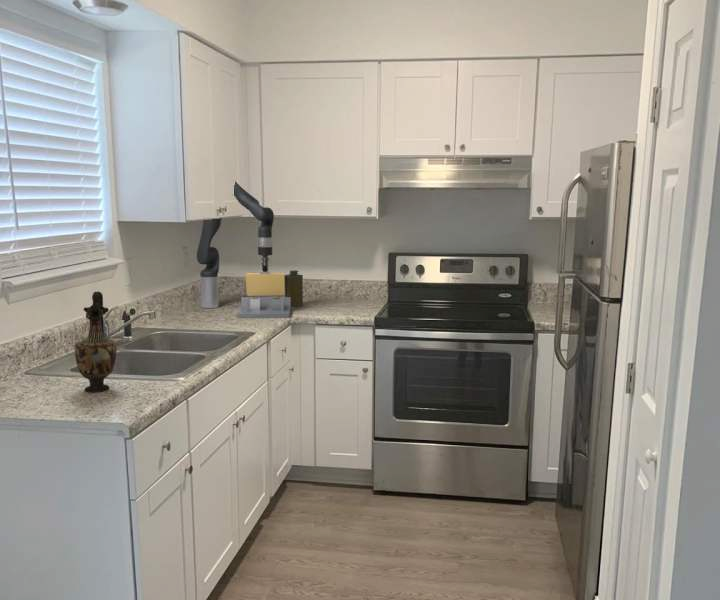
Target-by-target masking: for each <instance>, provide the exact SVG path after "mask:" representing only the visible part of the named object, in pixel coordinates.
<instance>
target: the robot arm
mask: <svg viewBox="0 0 720 600" xmlns="http://www.w3.org/2000/svg"><path fill="white" fill-rule="evenodd" d="M233 196H234V198H235V200H236V201H237V202H238V203H239V205H242V207H243V208H244V209H246V210H247V211H249V212H250V213H251V214H252V216H253V217H254V218H256V219H257V220H258V221H260V223H261V224H260V225H259V226H258V229H257V255H258V256H262V258H261V259H260V262H261V268H262V269H261V270H262V272H269V267H270V258H269V256H272V255H273V234H272V233H273V231H272V228H273V225H274V224H273V223H274V219H275V214H274V211H273V209H272V208H270V207H263V206H262V205H261V204H260V202H259V200H258V199H257V198H255V197H254V196H253V195H252V194H250V193H249V192H248V191H246V190H245V189H244V188H243V187H242V186H240V184H239V183H238V182H237V181H236V180H235V185H234V195H233ZM222 219H223V217H222V218H220V219H212V220H203V219H202V227H201V233H200V234H201V235H200V239H199V242H198V246H197V250H196V260H197V262H198V264H200V265H206V266H205V268H204V269H202V270H201V271H200V295H201V296H200V303H201V308H203V309H216V308H219V279H218V278H219V277H218V274H219V272H220V254H219V253H220V252H219V251H218V249H217V248H216V247H214V246H211V245H212V244H211V243H212V240H213V238H214V237H215V236H216V234H217V232H218V231H219V229H220V227H221V224H222Z"/></svg>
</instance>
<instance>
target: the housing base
mask: <svg viewBox="0 0 720 600" xmlns="http://www.w3.org/2000/svg"><path fill="white" fill-rule="evenodd" d="M251 298H261V310H260V311H250V299H251ZM272 298H281V310H276V311H272V303H271V299H272ZM240 300H241V307H240V310H239V311H238V312H237V314H236V318H237V319H289V318H290V315H291V308H292V307H291V297H285V296H245V297H244V296H241V298H240Z"/></svg>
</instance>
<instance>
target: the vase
mask: <svg viewBox="0 0 720 600" xmlns="http://www.w3.org/2000/svg"><path fill="white" fill-rule="evenodd" d="M91 298H92V305H90V306H88V307H87V306H85V307H84V308H83V311H84V312H85V318H86V319H87V320H89V328H88V334H87V337H86V338H85V339H82V340H80V341H78V342H77V343H76V344H75V348H74V355H75V363H76V366H77V370H78V371H79V373H80V375H82V377H84V378H85V379H86V380H87V381H89V385H88V386H86V387H84V392H86V393H102V392H106V391H108V390H109V389H110V385H108V384H105V383H104V381H105V379H106V378H107V377H109V376H110V375H111V373H112V371H113V370H114V367H115V365H116V360H117V352H118V351H117V343H116V342H115V341H114V340H112V339H111V338H107V337H106V334H105V330H104V329H105V327H104V324H105V323H104V315H106V313H108V312H109V308H108V307H104V295H103V293H102V292H101V291H94V292H93V293H92V297H91Z"/></svg>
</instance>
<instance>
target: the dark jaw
mask: <svg viewBox="0 0 720 600" xmlns="http://www.w3.org/2000/svg"><path fill="white" fill-rule="evenodd" d="M271 303H272V311H276V310H281V298H272V299H271Z"/></svg>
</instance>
